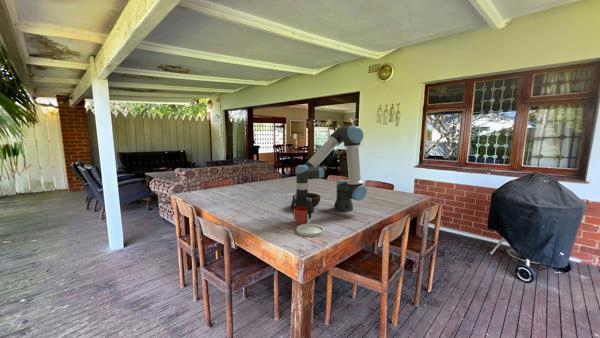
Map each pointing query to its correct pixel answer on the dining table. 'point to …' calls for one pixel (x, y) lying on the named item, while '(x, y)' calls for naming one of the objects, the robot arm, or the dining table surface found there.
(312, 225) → the saucer
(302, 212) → the flower pot
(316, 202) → the bowl
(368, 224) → the dining table surface
